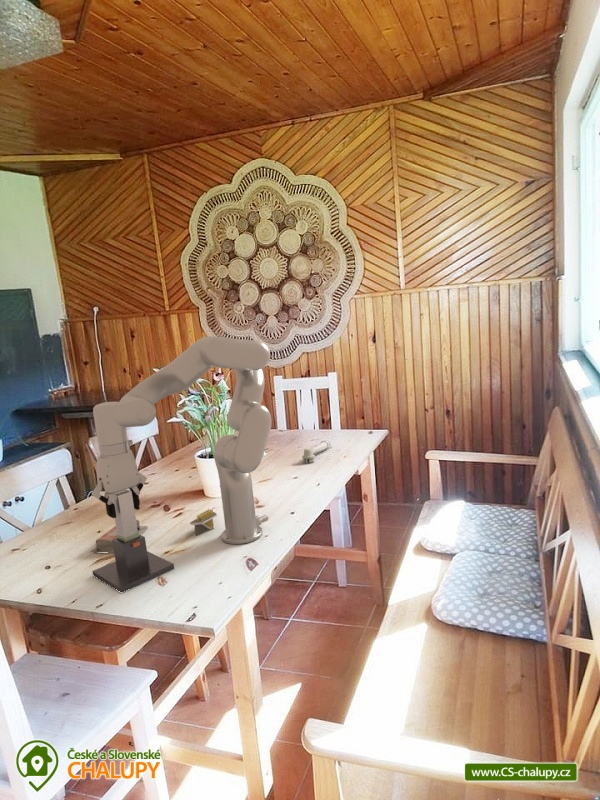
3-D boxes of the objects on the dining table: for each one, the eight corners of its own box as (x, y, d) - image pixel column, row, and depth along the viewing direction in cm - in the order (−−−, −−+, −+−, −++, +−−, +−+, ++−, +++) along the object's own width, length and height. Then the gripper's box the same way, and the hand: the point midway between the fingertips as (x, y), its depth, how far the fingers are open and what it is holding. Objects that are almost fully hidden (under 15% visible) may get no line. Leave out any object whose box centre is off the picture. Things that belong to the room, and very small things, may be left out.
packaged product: (117, 540, 171) (88, 539, 174) (120, 555, 172) (90, 554, 174) (146, 516, 188) (119, 516, 191) (148, 530, 189) (121, 530, 192)
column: (133, 543, 160) (124, 488, 157) (140, 547, 157) (132, 491, 154) (119, 549, 157) (110, 493, 155) (126, 553, 154) (117, 496, 152)
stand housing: (144, 554, 170) (139, 522, 168) (174, 568, 159) (169, 534, 157) (93, 576, 159) (87, 542, 157) (121, 593, 148) (115, 557, 146)
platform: (239, 524, 187) (236, 505, 186) (201, 547, 172) (199, 526, 171) (211, 519, 193) (208, 501, 192) (172, 541, 178) (170, 521, 177)
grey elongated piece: (331, 440, 265) (311, 447, 243) (332, 454, 266) (311, 463, 243) (321, 439, 268) (299, 447, 245) (321, 454, 268) (300, 463, 245)
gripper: (136, 439, 161) (145, 500, 164) (76, 455, 149) (87, 520, 152) (150, 442, 156) (159, 505, 159) (89, 459, 144) (100, 526, 147)
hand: (124, 512), depth 156 cm, fingers open, 6 cm apart
